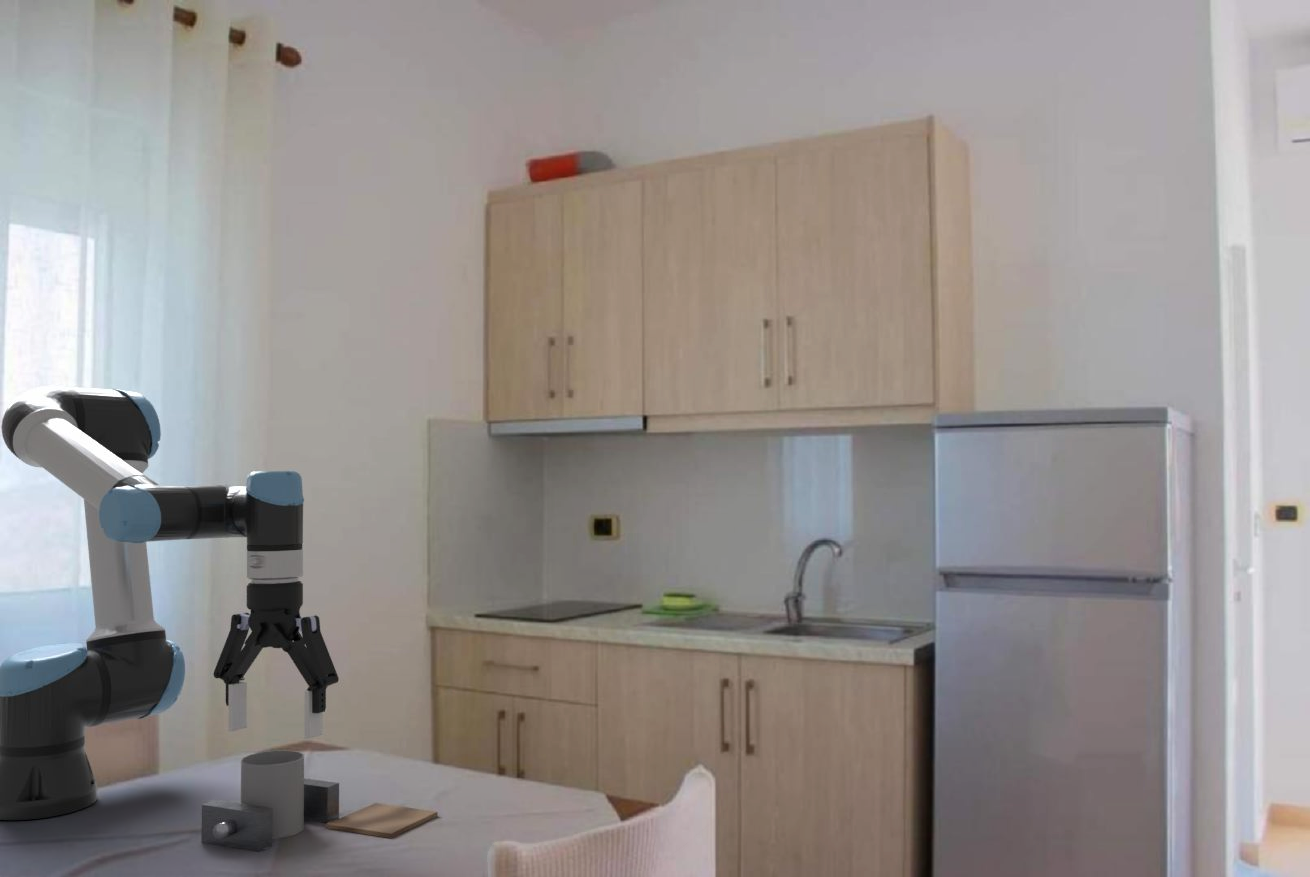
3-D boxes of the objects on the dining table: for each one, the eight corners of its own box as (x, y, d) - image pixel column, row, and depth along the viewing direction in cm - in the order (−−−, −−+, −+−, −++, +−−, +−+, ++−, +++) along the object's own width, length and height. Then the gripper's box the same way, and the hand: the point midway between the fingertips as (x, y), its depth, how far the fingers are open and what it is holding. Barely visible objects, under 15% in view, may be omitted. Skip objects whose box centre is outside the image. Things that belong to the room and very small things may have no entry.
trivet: (326, 828, 158) (326, 824, 158) (375, 807, 168) (375, 803, 168) (390, 838, 153) (390, 833, 153) (437, 815, 164) (437, 811, 164)
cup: (283, 841, 152) (284, 766, 153) (228, 837, 154) (229, 763, 154) (314, 822, 161) (315, 751, 161) (262, 819, 162) (262, 749, 163)
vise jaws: (189, 846, 150) (190, 808, 150) (294, 806, 168) (294, 772, 169) (247, 856, 146) (247, 817, 146) (347, 814, 164) (348, 779, 165)
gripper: (187, 580, 160) (187, 731, 159) (328, 584, 150) (328, 745, 149) (227, 576, 167) (226, 721, 166) (364, 580, 157) (364, 734, 156)
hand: (274, 733), depth 158 cm, fingers open, 13 cm apart
